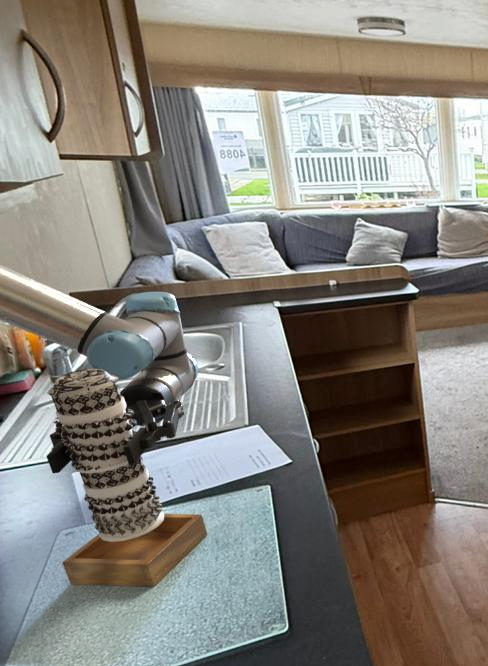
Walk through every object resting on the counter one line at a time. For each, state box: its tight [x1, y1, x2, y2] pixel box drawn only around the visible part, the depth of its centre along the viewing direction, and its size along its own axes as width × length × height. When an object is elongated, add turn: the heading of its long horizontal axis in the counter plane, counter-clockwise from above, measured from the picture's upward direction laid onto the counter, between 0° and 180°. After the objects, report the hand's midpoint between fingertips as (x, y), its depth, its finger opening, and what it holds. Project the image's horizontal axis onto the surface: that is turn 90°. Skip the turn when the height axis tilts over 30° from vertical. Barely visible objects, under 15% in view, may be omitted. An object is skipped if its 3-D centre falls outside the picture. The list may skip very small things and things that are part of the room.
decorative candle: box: [46, 368, 165, 542], centre depth 95 cm, size 9×9×25 cm
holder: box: [61, 513, 208, 588], centre depth 102 cm, size 13×13×4 cm
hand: (91, 459), depth 91 cm, fingers closed on decorative candle, 8 cm apart
